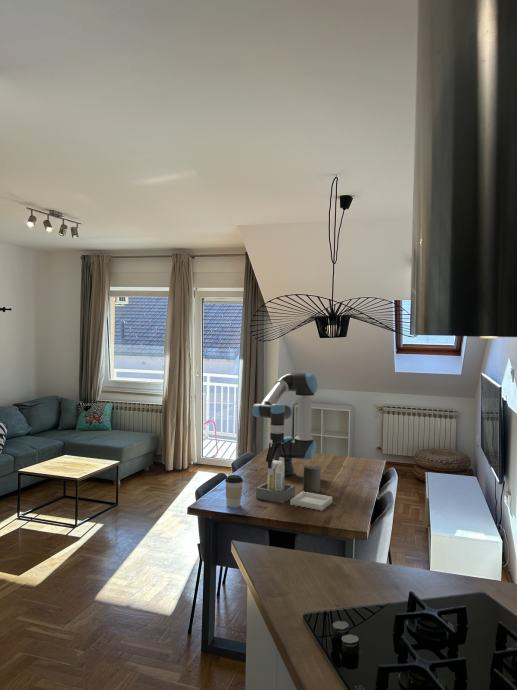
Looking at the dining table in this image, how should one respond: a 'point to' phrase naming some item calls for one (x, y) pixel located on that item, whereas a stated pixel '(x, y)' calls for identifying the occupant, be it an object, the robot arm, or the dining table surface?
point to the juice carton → (277, 477)
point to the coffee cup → (233, 490)
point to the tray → (311, 500)
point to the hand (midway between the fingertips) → (275, 471)
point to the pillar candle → (311, 478)
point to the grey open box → (275, 493)
